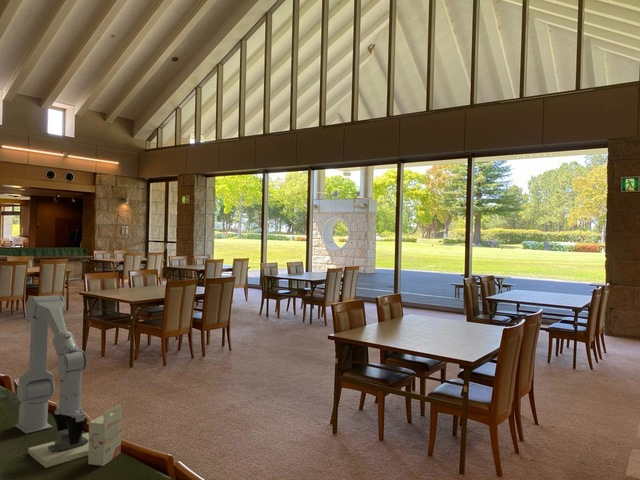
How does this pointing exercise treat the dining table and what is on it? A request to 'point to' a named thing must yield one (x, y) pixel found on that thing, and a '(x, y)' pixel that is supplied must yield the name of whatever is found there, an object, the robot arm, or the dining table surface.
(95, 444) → the ink cartridge box
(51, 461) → the pocket plate
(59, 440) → the servo block
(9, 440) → the dining table surface
